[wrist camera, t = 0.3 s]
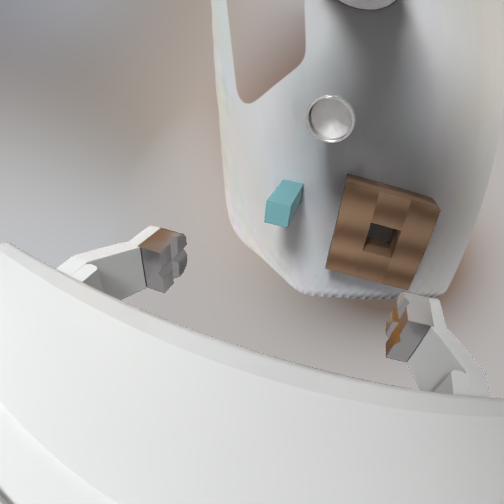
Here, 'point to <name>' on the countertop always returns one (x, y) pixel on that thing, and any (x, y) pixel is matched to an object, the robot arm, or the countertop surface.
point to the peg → (283, 203)
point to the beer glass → (330, 118)
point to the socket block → (386, 214)
